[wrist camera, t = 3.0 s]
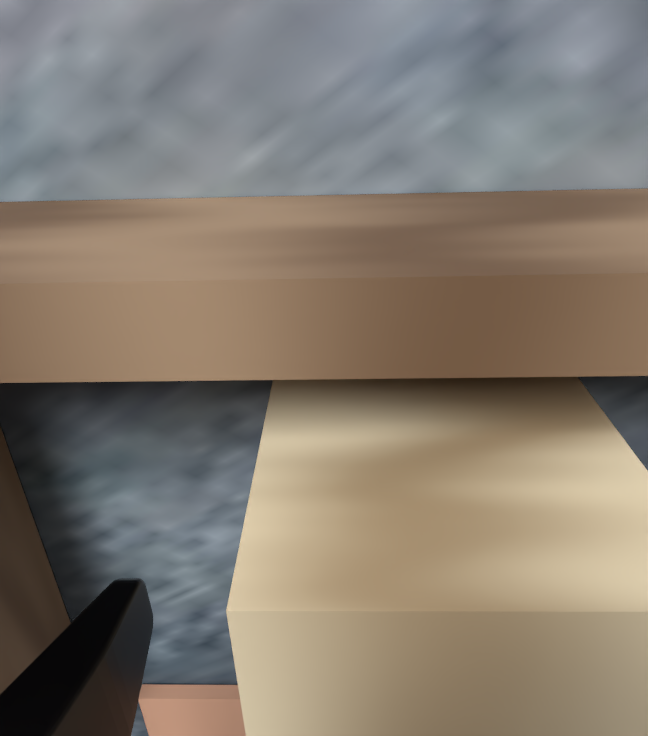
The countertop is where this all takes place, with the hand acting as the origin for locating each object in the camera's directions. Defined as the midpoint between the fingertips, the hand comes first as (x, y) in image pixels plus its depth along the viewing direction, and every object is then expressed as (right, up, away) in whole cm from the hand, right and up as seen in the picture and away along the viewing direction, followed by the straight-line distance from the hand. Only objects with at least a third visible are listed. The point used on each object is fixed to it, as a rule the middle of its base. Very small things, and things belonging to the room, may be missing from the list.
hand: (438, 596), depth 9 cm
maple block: (0, +2, +3) cm, 4 cm away
